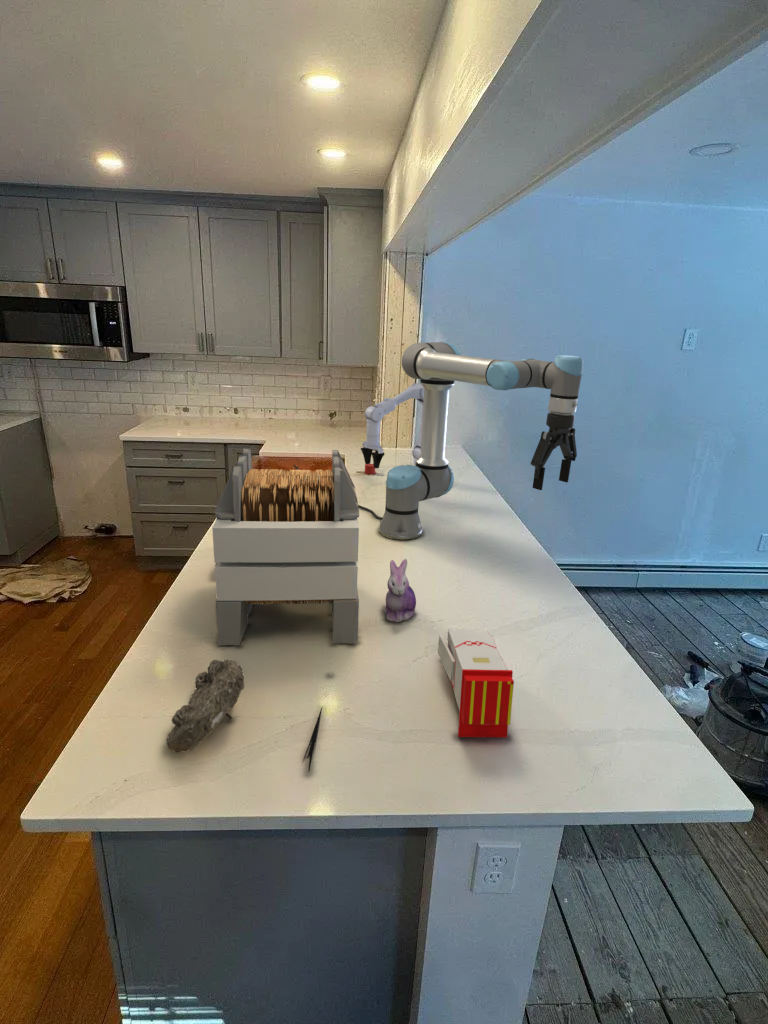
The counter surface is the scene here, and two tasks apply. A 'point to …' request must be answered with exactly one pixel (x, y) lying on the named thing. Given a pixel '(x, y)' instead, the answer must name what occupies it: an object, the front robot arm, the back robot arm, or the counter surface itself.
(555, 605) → the counter surface
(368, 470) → the can
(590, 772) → the counter surface
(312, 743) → the feather
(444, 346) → the front robot arm
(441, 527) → the counter surface
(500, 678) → the toy
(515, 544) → the counter surface
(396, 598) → the figurine
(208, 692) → the fossil
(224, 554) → the record crate
